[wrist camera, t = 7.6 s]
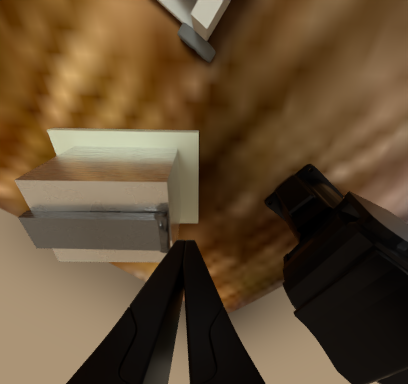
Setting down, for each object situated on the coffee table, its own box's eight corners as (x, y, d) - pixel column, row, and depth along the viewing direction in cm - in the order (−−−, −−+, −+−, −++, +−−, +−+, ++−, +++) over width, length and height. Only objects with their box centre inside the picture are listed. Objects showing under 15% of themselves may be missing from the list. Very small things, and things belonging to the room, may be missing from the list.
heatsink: (177, 148, 19) (166, 182, 13) (181, 213, 23) (173, 262, 17) (65, 146, 19) (2, 179, 13) (89, 212, 23) (49, 261, 17)
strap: (168, 210, 14) (166, 218, 13) (171, 244, 16) (169, 253, 15) (26, 207, 14) (16, 215, 13) (45, 241, 16) (37, 250, 15)
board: (198, 130, 19) (198, 132, 18) (198, 219, 25) (198, 223, 24) (52, 127, 19) (47, 130, 18) (86, 218, 24) (83, 222, 24)
